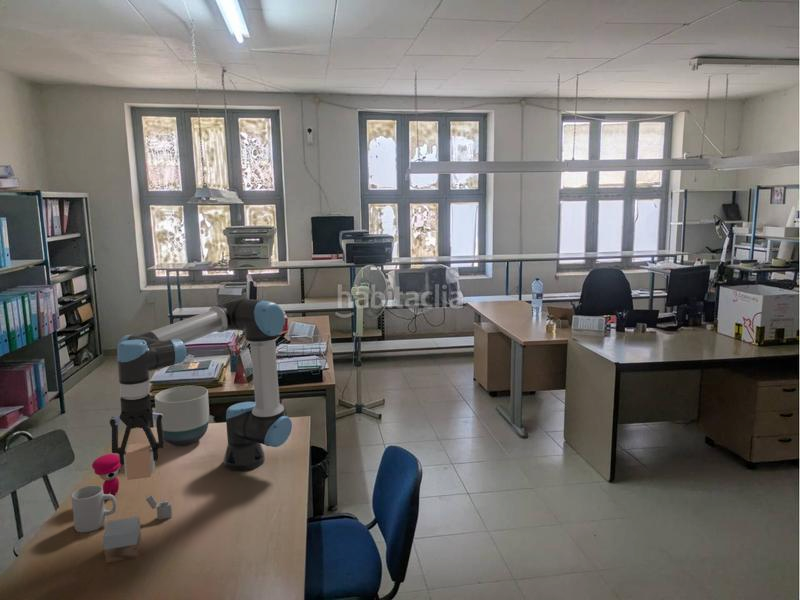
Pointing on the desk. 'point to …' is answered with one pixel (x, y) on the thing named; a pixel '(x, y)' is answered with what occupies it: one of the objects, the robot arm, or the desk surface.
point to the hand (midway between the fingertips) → (140, 472)
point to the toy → (108, 472)
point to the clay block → (138, 461)
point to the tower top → (121, 533)
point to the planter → (183, 414)
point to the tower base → (123, 552)
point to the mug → (90, 508)
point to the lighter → (160, 508)
